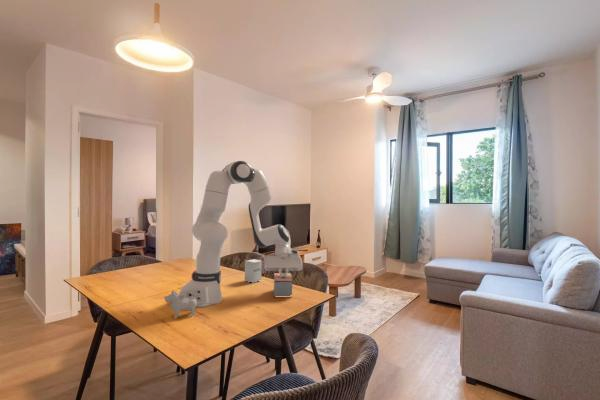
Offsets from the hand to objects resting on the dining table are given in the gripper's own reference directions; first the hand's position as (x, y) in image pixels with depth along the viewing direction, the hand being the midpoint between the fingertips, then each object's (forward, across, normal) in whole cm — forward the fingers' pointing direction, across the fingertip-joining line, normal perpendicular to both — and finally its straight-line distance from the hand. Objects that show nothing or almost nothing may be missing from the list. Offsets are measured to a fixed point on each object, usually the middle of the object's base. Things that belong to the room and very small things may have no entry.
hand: (283, 277), depth 155 cm
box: (+3, 0, +11) cm, 11 cm away
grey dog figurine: (+24, -44, -10) cm, 51 cm away
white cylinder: (-13, -17, +28) cm, 35 cm away
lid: (-2, 0, +5) cm, 5 cm away
